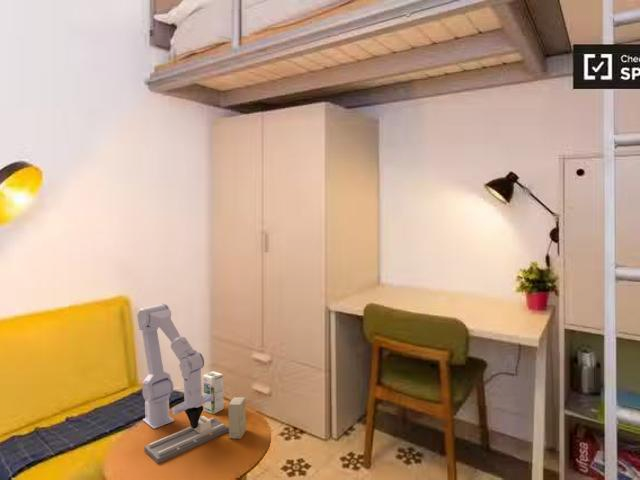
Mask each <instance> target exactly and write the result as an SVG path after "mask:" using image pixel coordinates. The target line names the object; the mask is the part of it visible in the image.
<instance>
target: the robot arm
mask: <svg viewBox="0 0 640 480" xmlns="http://www.w3.org/2000/svg"><path fill="white" fill-rule="evenodd" d="M171 318H172V311H171V310H170V307H169V305H167V304H166V303H161V304H157V305H152V306H147V307H141V308H140V309H139V311H138V313H137V323H138V328H139V331H141V333H142V339H143V347H144V353H145V359H146V366H147V371H148V372H147V373H148V374H147V376H146V377H145V378H144V380H143V381H142V391H141V392H142V393H141V395H142V398H143V399H144V401H145V402H144V410H145V411H144V415H145V418H143V419H142V421H143V422H144V423H146V424H147V425H148V426H149V427H150V428H152V429H153V430H155V429H158V428H160V427H162V426H165V425H167V424H170V423H173V422H174V421H175V419H174V418H172V416H170V397H171V394H172V393H173V392H174V387H175V386H174V382H173V380H172V378H171V374H170V373H168V372H166V371H164V365H163V359H162V355H161V352H162V351H161V347H160V341H159V340H160V339H159V335H158V329H159V328H160V330H161V331H162V332H163V333H164V335H165V336H166V338H167V339H168V340H169V341H170V342H171V343H170V348H171V350H172V352H173V353H174V355H175V356H176V358H177V359H178V362H179V365H178V366H179V369H180V372H181V378H182V379H183V390H184V391H183V395H184V398H183V399H184V401H183V402H181V403H179V404H177V405H176V406H174V407H172V408H171V410H172V414H173V415H174V416H177V415H178V414H179V413H181V412H185V414H186V416H187V417H188V420H189V423H190V427H192V428H193V429H195V428H197V426H198V421H199V418H200V416H202V413H203V412H204V403H206V402H208V401H213V395H212V394H208V395H204V394H203V395H202V393H203V392H202V391H203V389H202V369H203V368H204V366H205V359H204V356H203V355H202V353H201V352H199V351H197V350H196V349H193V347H192V345H191V344H190V342H189V340H188V339H187V338H186V337H184V336H181V335H180V333H179V331H178V329H177V327H176V326H175V324H174V322H173V320H172V319H171Z"/></svg>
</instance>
